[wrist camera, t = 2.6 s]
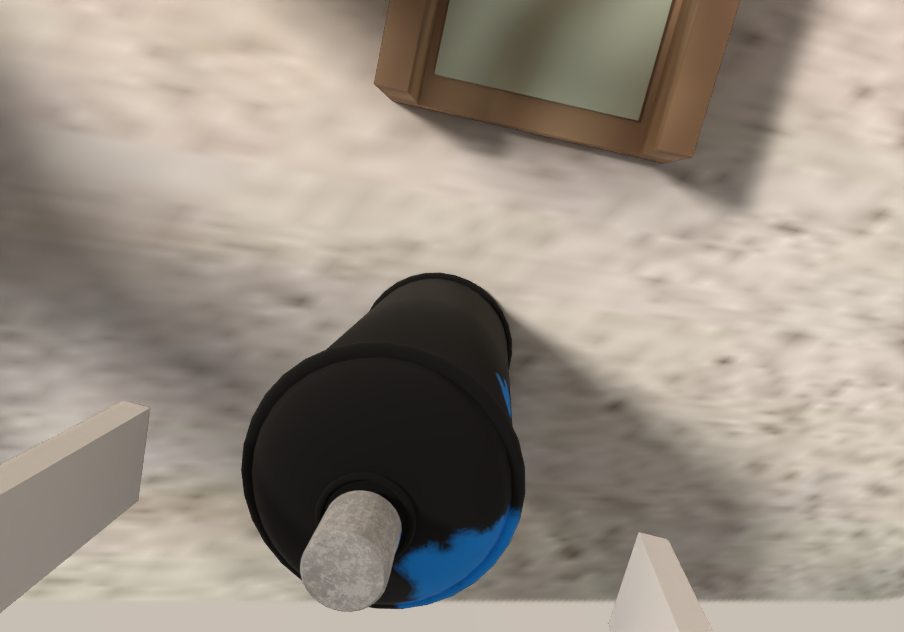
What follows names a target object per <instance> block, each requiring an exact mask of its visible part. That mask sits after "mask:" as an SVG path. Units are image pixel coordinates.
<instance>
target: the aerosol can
mask: <svg viewBox="0 0 904 632" xmlns="http://www.w3.org/2000/svg"><path fill="white" fill-rule="evenodd" d="M511 356H512V340H511V335H510V331H509V326H508V323H507V321H506V319H505V317H504V314H503V312H502V311H501V309H500V308H499V306H498V305H497V304H496V302H495V301H494V299H493V298H492V297H490V296H489V295H488V294H487V293H486V292H485V291H484V290H483V289H482V288H480V287H479V286H477V285H475V284H474V283H472V282H471V281H469V280H466V279H463V278H461V277H458V276H455V275H450V274H444V273H424V274H419V275H415V276H411V277H408V278H406V279H404V280H402V281H399V282H397V283H396V284H394V285H393V286H391V287H390V288H389V289H387V290H386V291H385V292H384V293H383V294H382V295H381V296H380V297H379V298H378V299H377V300H376V301H375V303H374V304H373V306H372V308H371V309H370V311H369V312H368V313H367V314H366V315H365V316H364V317H363V318H362V319H360V320H359V321H358V322H357V323H356V324H355V325H354V326H353V327H351V328H350V329H349V330H348V331H347V332H346V333H345V334H343V335H342V336H341V337H340V338H339V339H338V340H337V341H336V342H334V343H333V344H332V345H331V346H330V347H329V348H328V349H326V350H325V351H322V352H320V353H318V354H316V355H313V356H311V357H309V358H307V359H305V360H303V361H302V362H300V363H299V364H298V365H296V366H295V367H293V368H292V369H291V370H289V371H288V372H287V373H285V374H284V375H283V376H282V377H281V378H280V379H279V380H278V381H277V382H276V383H275V384H274V386H273V387H272V388H271V389H270V390H269V391H268V392H267V393H266V394H265V396H264V398H263V399H262V401H261V403H260V405H259V406H258V408H257V410H256V412H255V413H254V415H253V417H252V420H251V423H250V426H249V429H248V432H247V435H246V439H245V442H244V447H243V458H242V468H241V471H242V479H243V488H244V496H245V499H246V502H247V505H248V508H249V511H250V514H251V518H252V520H253V522H254V524H255V526H256V528H257V529H258V531H259V533H260V535H261V537H262V539H263V540H264V542H265V544H266V545H267V546H268V547H269V548H270V550H271V551H272V552H273V553H274V555H275V556H276V557H277V558H278V559H279V561H280V562H281V563H282V564H283V565H284V566H286V567H287V568H288V569H289V570H290V571H291V572H293V573H294V574H295V575H296V576H297V577H298V578H300V579H301V580H302V581H303V584H304V586H305V587H306V589H307V591H308V592H309V593H310V594H311V596H312V597H313V598H314V599H316V600H317V601H318V602H319V603H321V604H323V605H324V606H326V607H328V608H331V609H334V610H338V611H348V612H352V611H358V610H362V609H364V608H367V607H371V608H384V609H404V608H410V607H417V606H423V605H428V604H431V603H434V602H437V601H440V600H442V599H445V598H448V597H451V596H453V595H455V594H456V593H458V592H460V591H461V590H463V589H465V588H467V587H468V586H470V585H472V584H473V583H475V582H476V581H477V580H478V579H479V578H480V577H481V576H483V575H484V574H485V573H486V572H487V571H488V570H489V569H490V568H491V567H492V566H494V564H495V563H496V561H497V560H498V559H499V557H500V556H501V555H502V553H503V552H504V550H505V549H506V548H507V546H508V545H509V543H510V541H511V538H512V536H513V534H514V532H515V529H516V527H517V525H518V522H519V520H520V517H521V512H522V507H523V502H524V497H525V466H524V461H523V457H522V453H521V448H520V444H519V440H518V438H517V436H516V433H515V431H514V429H513V427H512V413H511V399H510V384H509V366H510V361H511Z"/></svg>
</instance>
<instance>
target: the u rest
mask: <svg viewBox="0 0 904 632" xmlns="http://www.w3.org/2000/svg"><path fill="white" fill-rule="evenodd" d="M739 2H740V0H390V2H389V7H388V12H387V17H386V23H385V28H384V33H383V39H382V44H381V49H380V54H379V60H378V65H377V70H376V75H375V81H374V84H375V85H376V86H377V87H378V88H379V89H380V90H381V91H382V92H383V93H384V94H385V95H386V96H387V97H388V98H390V99H391V100H392V101H395V102H400V103H404V104H408V105H413V106H417V107H421V108H426V109H430V110H434V111H439V112H443V113H447V114H451V115H456V116H460V117H464V118H469V119H473V120H477V121H482V122H486V123H490V124H495V125H499V126H503V127H508V128H512V129H516V130H521V131H525V132H529V133H534V134H538V135H542V136H547V137H551V138H555V139H560V140H564V141H568V142H573V143H577V144H581V145H586V146H590V147H594V148H599V149H603V150H607V151H612V152H616V153H620V154H625V155H629V156H633V157H638V158H642V159H646V160H651V161H655V162H659V163H667V162H672V161H677V160H681V159H686V158H691V157H692V156H693V153H694V150H695V147H696V143H697V140H698V137H699V133H700V130H701V127H702V124H703V120H704V117H705V114H706V110H707V107H708V104H709V101H710V97H711V94H712V91H713V87H714V84H715V81H716V78H717V74H718V71H719V68H720V64H721V61H722V58H723V55H724V51H725V48H726V45H727V41H728V38H729V35H730V32H731V28H732V25H733V22H734V18H735V15H736V12H737V9H738V5H739Z"/></svg>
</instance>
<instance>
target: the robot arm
mask: <svg viewBox="0 0 904 632" xmlns="http://www.w3.org/2000/svg"><path fill="white" fill-rule="evenodd" d="M149 414H150V407H146V406H142V405H138V404H134V403H130V402H126V401H121V402H119V403H117V404H115V405H114V406H112V407H110V408H108V409H106V410H104V411H102V412H100V413H98V414H96V415H94V416H92V417H91V418H89V419H87V420H85V421H83V422H81V423H79V424H77V425H75V426H73V427H71V428H69V429H67V430H66V431H64V432H62V433H60V434H58V435H56V436H54V437H52V438H50V439H48V440H46V441H44V442H42V443H41V444H39V445H37V446H35V447H33V448H31V449H29V450H27V451H25V452H23V453H21V454H19V455H17V456H16V457H14V458H12V459H10V460H8V461H6V462H4V463H2V464H0V613H1V612H2V611H3V610H5V609H6V608H7V607H8V606H9V605H11V604H12V603H13V602H14V601H16V600H17V599H18V598H19V597H21V596H22V595H23V594H24V593H25V592H27V591H28V590H29V589H30V588H32V587H33V586H34V585H35V584H36V583H38V582H39V581H40V580H41V579H43V578H44V577H45V576H46V575H48V574H49V573H50V572H51V571H52V570H54V569H55V568H56V567H57V566H59V565H60V564H61V563H62V562H63V561H65V560H66V559H67V558H68V557H70V556H71V555H72V554H73V553H74V552H76V551H77V550H78V549H79V548H81V547H82V546H83V545H84V544H86V543H87V542H88V541H89V540H90V539H92V538H93V537H94V536H95V535H97V534H98V533H99V532H100V531H101V530H103V529H104V528H105V527H106V526H108V525H109V524H110V523H111V522H112V521H114V520H115V519H116V518H117V517H119V516H120V515H121V514H122V513H124V512H125V511H126V510H127V509H128V508H130V507H131V506H132V505H133V504H135V503H136V502H137V501H138V499H139V491H140V483H141V476H142V468H143V460H144V453H145V445H146V437H147V430H148V422H149ZM609 627H610V631H611V632H713V631H712V629H711V626H710V624H709V622H708V620H707V618H706V616H705V614H704V612H703V610H702V608H701V606H700V604H699V602H698V600H697V598H696V596H695V594H694V592H693V590H692V588H691V585H690V583H689V581H688V579H687V577H686V575H685V573H684V571H683V569H682V567H681V565H680V563H679V561H678V559H677V557H676V555H675V553H674V551H673V549H672V547H671V544H670V542H669V540H668V539H664V538H660V537H656V536H652V535H648V534H644V533H640V532H638V535H637V538H636V541H635V545H634V548H633V551H632V554H631V557H630V560H629V563H628V566H627V569H626V572H625V575H624V578H623V581H622V584H621V587H620V590H619V593H618V596H617V600H616V603H615V606H614V609H613V612H612V615H611V618H610V621H609Z"/></svg>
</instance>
